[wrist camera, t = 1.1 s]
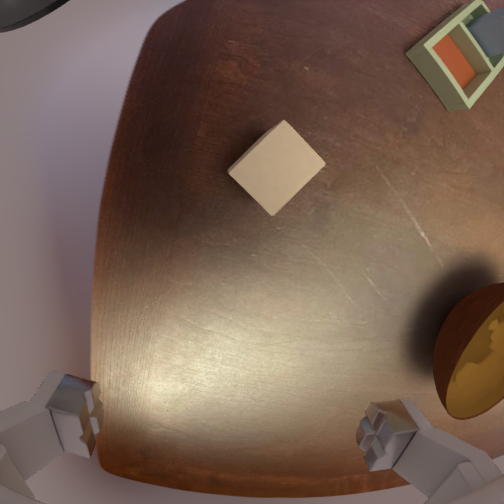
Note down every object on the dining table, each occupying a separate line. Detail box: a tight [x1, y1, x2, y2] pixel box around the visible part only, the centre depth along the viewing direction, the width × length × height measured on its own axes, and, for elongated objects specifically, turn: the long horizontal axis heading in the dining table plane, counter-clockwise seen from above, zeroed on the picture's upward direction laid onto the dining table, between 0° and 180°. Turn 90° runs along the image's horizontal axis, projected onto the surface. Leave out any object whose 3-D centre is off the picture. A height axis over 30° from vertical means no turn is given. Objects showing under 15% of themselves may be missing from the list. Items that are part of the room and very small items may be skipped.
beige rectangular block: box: [228, 120, 326, 216], centre depth 24 cm, size 4×5×9 cm
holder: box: [405, 0, 504, 112], centre depth 24 cm, size 8×15×4 cm, turn 135°
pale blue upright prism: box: [465, 7, 504, 57], centre depth 21 cm, size 4×5×9 cm
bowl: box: [433, 283, 504, 420], centre depth 31 cm, size 18×18×10 cm
